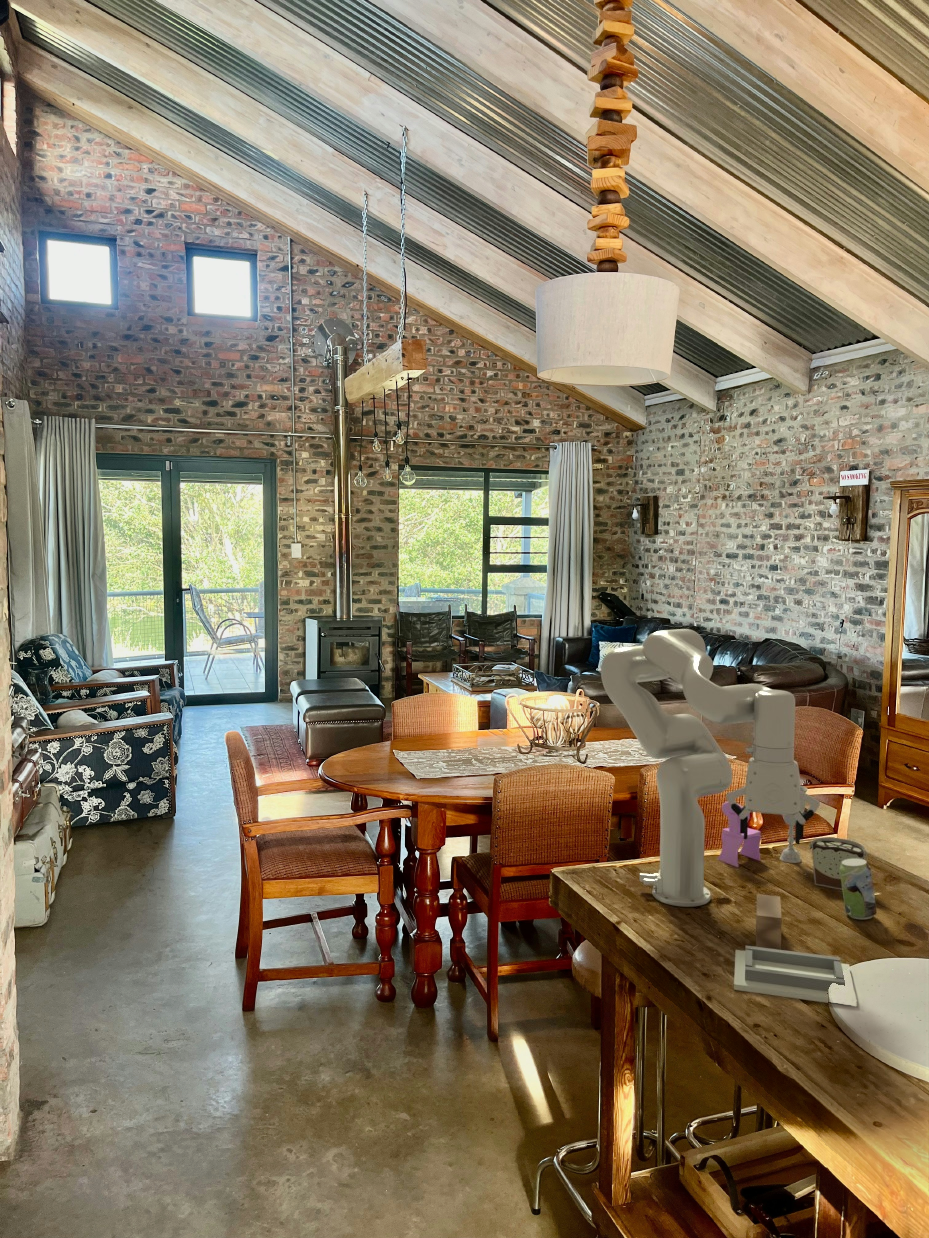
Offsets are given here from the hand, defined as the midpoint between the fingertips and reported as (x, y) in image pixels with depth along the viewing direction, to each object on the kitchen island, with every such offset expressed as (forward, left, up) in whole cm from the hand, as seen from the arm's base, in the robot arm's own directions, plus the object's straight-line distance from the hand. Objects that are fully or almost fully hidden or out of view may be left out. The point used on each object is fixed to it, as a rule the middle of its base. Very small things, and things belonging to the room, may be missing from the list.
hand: (771, 839), depth 177 cm
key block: (0, 0, -20) cm, 20 cm away
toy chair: (-6, +45, -20) cm, 50 cm away
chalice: (+6, +49, -20) cm, 53 cm away
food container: (+16, +35, -20) cm, 43 cm away
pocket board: (+4, -16, -20) cm, 26 cm away
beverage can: (+18, +17, -20) cm, 32 cm away
